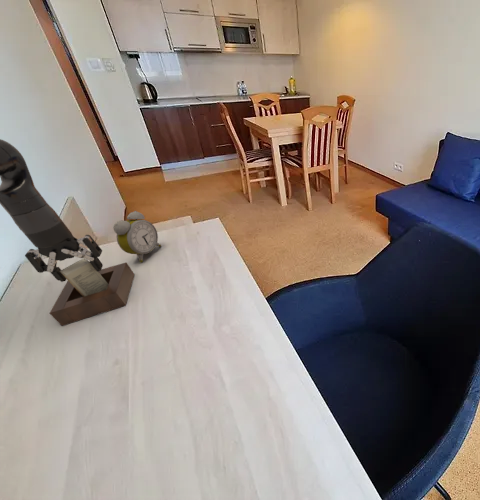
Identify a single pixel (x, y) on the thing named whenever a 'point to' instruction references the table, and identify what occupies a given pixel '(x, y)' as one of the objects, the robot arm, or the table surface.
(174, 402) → the table surface
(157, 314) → the table surface
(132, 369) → the table surface
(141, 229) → the alarm clock
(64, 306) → the socket block
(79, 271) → the cosmetic box
